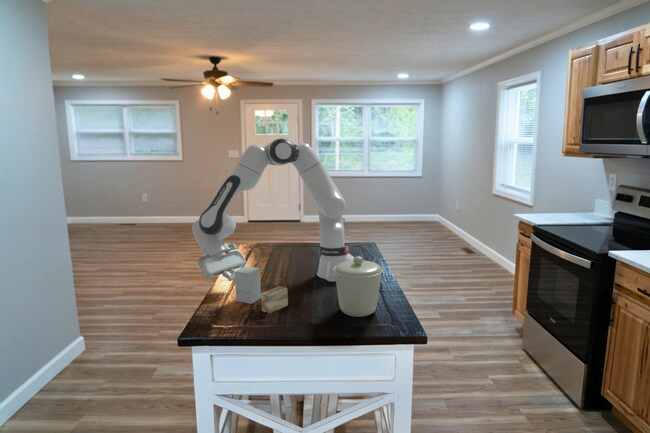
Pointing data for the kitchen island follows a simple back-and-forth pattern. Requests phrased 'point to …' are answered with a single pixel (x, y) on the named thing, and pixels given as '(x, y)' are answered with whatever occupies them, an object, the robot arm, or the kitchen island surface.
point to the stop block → (274, 299)
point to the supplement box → (247, 284)
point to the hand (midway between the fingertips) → (233, 279)
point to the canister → (358, 286)
